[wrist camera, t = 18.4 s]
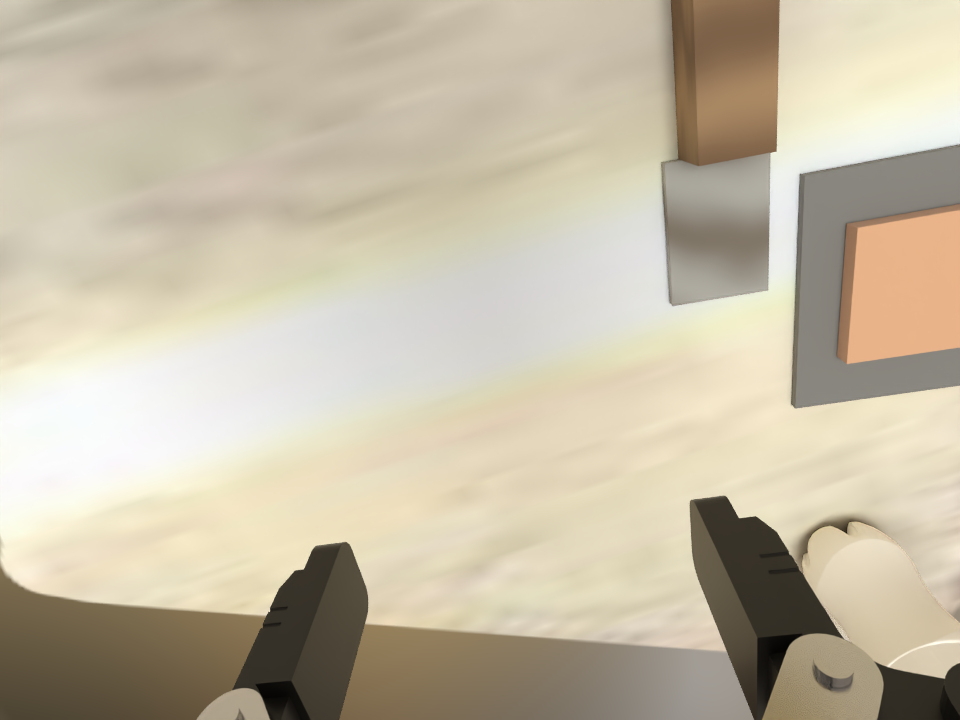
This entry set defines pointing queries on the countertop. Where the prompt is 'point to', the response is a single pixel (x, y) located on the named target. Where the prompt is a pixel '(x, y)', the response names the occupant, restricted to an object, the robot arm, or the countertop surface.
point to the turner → (721, 148)
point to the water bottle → (881, 600)
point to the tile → (901, 285)
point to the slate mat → (820, 274)
